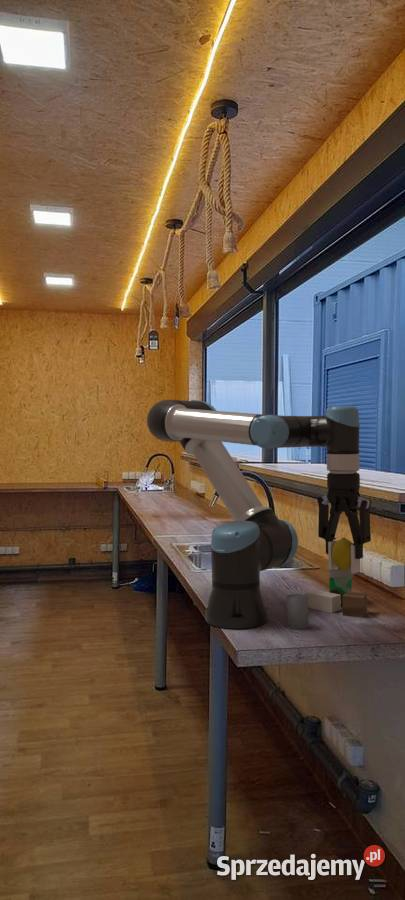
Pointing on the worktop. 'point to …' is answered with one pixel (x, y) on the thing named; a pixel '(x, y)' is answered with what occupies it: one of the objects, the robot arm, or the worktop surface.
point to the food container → (340, 581)
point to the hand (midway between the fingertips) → (344, 570)
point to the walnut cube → (354, 604)
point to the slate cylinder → (297, 611)
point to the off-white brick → (324, 601)
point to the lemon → (342, 554)
